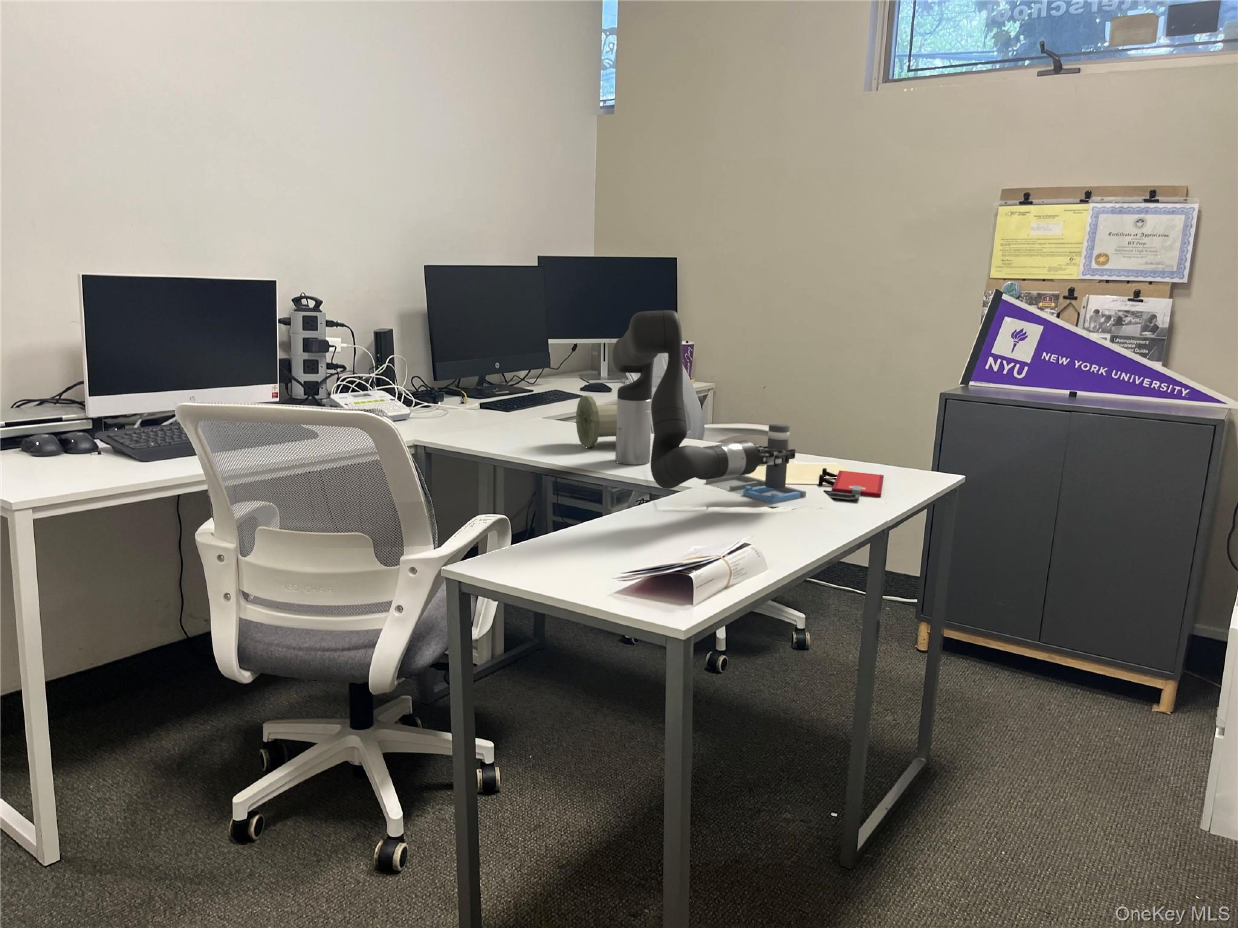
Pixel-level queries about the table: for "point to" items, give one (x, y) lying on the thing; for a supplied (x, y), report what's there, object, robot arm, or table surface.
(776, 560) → the table surface
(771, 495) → the blue and grey tray
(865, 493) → the red board with handle
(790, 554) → the table surface
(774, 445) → the banded grey cylinder
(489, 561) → the table surface
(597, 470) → the table surface
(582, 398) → the spool
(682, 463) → the robot arm
